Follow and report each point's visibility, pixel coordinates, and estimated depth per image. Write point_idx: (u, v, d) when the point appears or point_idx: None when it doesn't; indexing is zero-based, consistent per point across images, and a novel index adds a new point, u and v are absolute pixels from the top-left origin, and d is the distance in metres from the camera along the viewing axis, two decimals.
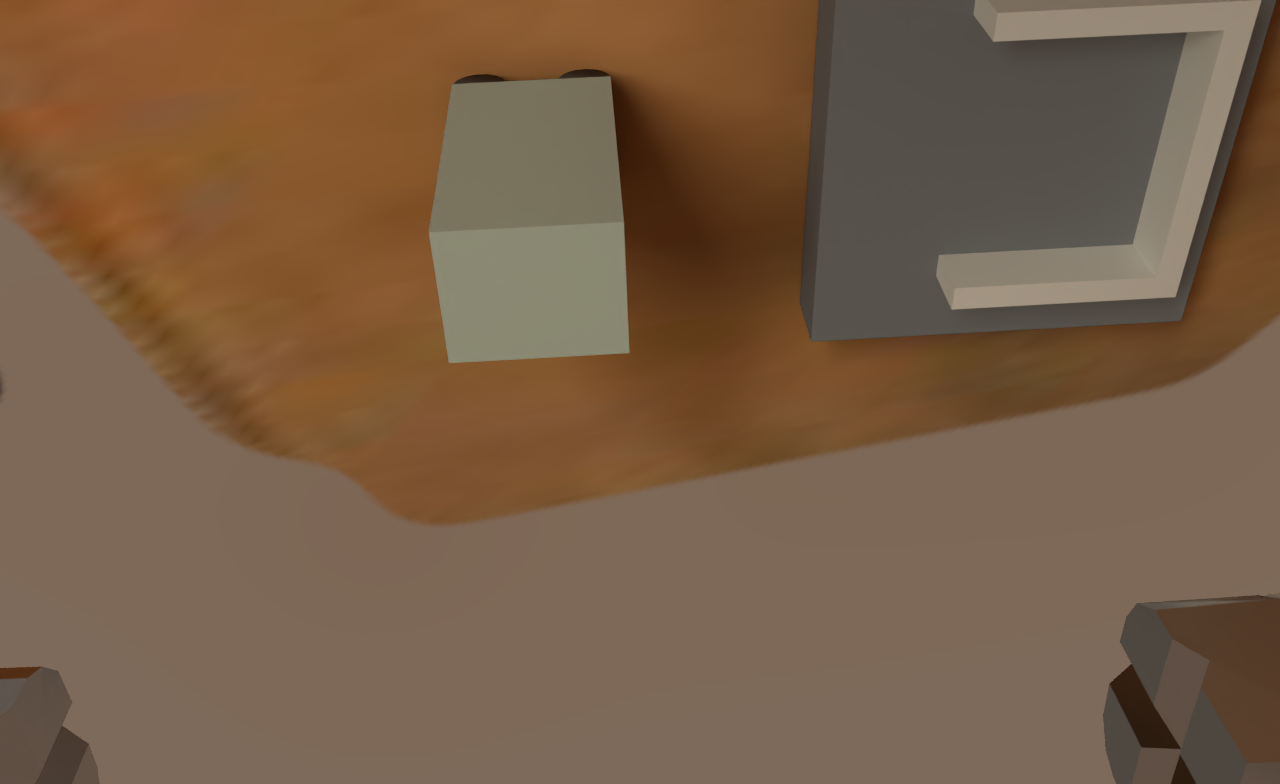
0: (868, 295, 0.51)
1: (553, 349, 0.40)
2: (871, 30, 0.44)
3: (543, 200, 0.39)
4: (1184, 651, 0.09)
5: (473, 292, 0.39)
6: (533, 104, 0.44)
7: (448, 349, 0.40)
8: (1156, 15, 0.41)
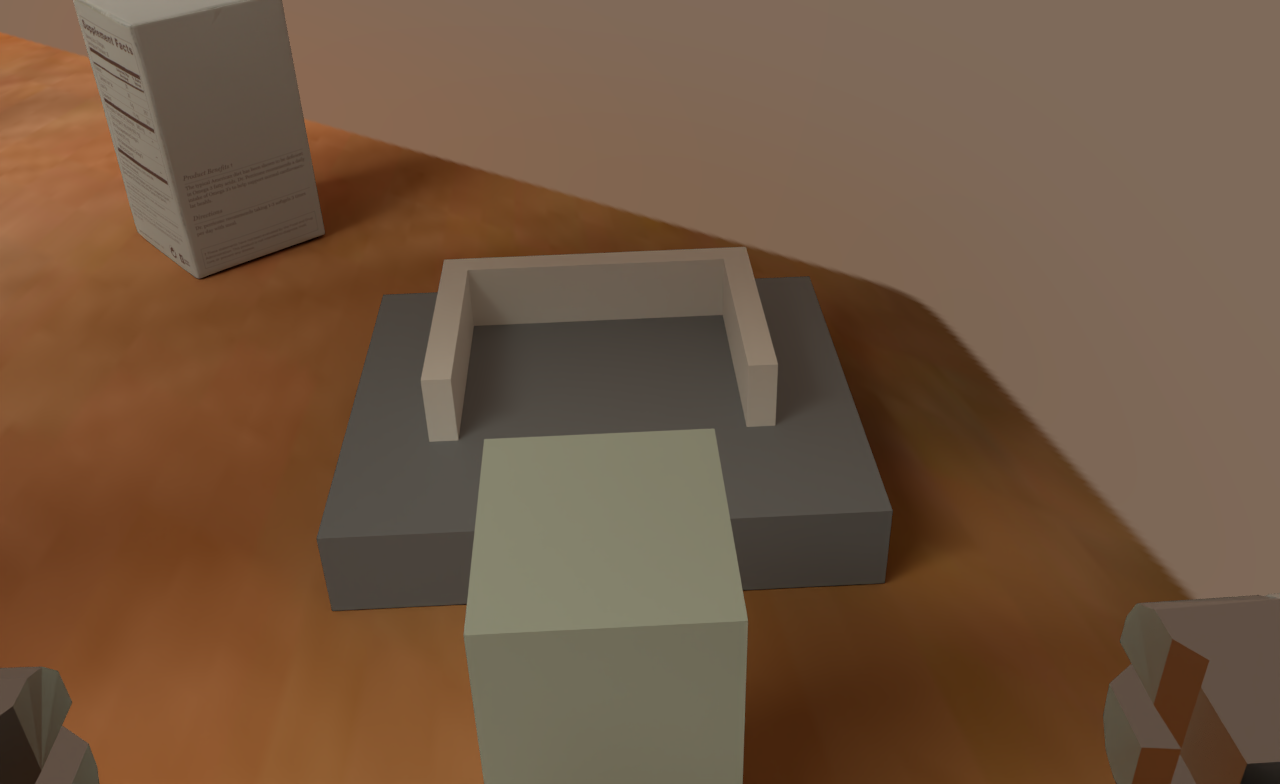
0: (811, 471, 0.40)
1: (710, 499, 0.24)
2: (461, 504, 0.39)
3: None
4: (1184, 651, 0.09)
5: (593, 586, 0.22)
6: None
7: (716, 620, 0.22)
8: (445, 301, 0.45)
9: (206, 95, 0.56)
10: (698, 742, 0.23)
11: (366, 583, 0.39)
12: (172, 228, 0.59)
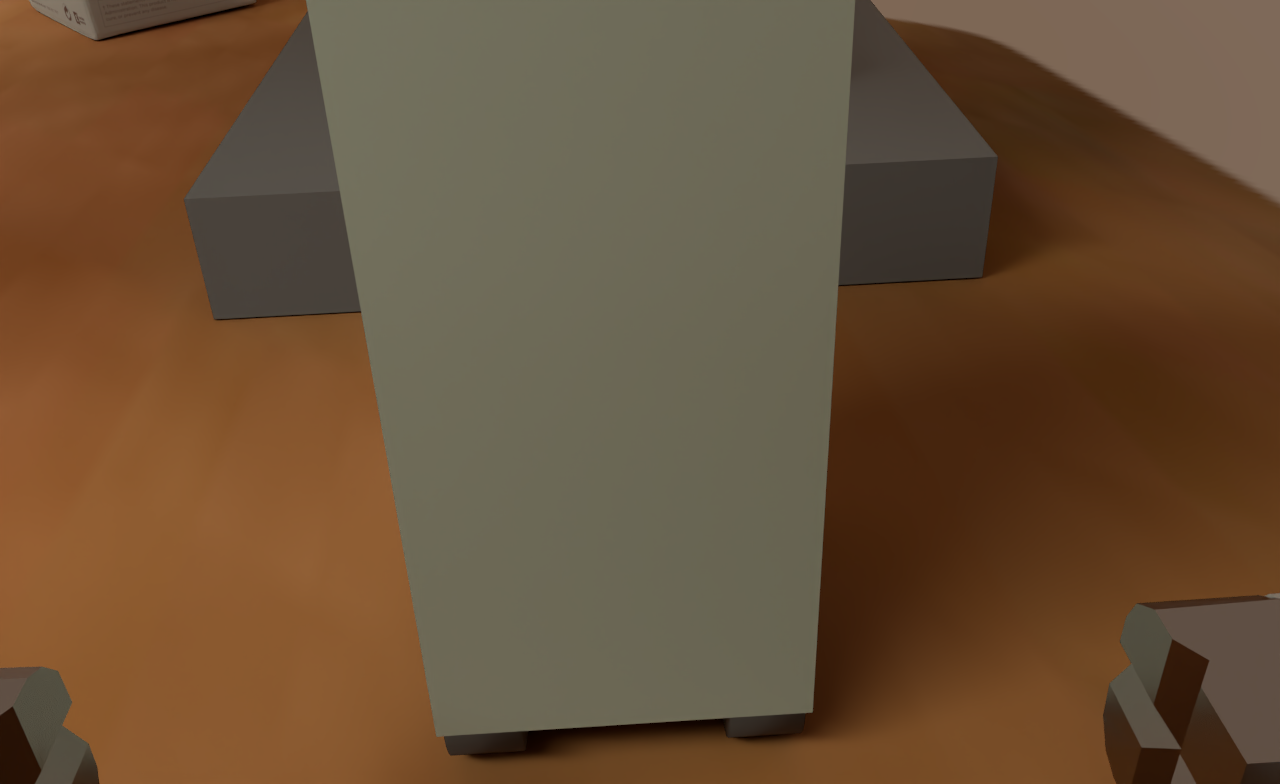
0: (878, 126, 0.29)
1: None
2: None
3: None
4: (1184, 651, 0.09)
5: None
6: None
7: None
8: None
9: None
10: (758, 147, 0.12)
11: (259, 274, 0.28)
12: None
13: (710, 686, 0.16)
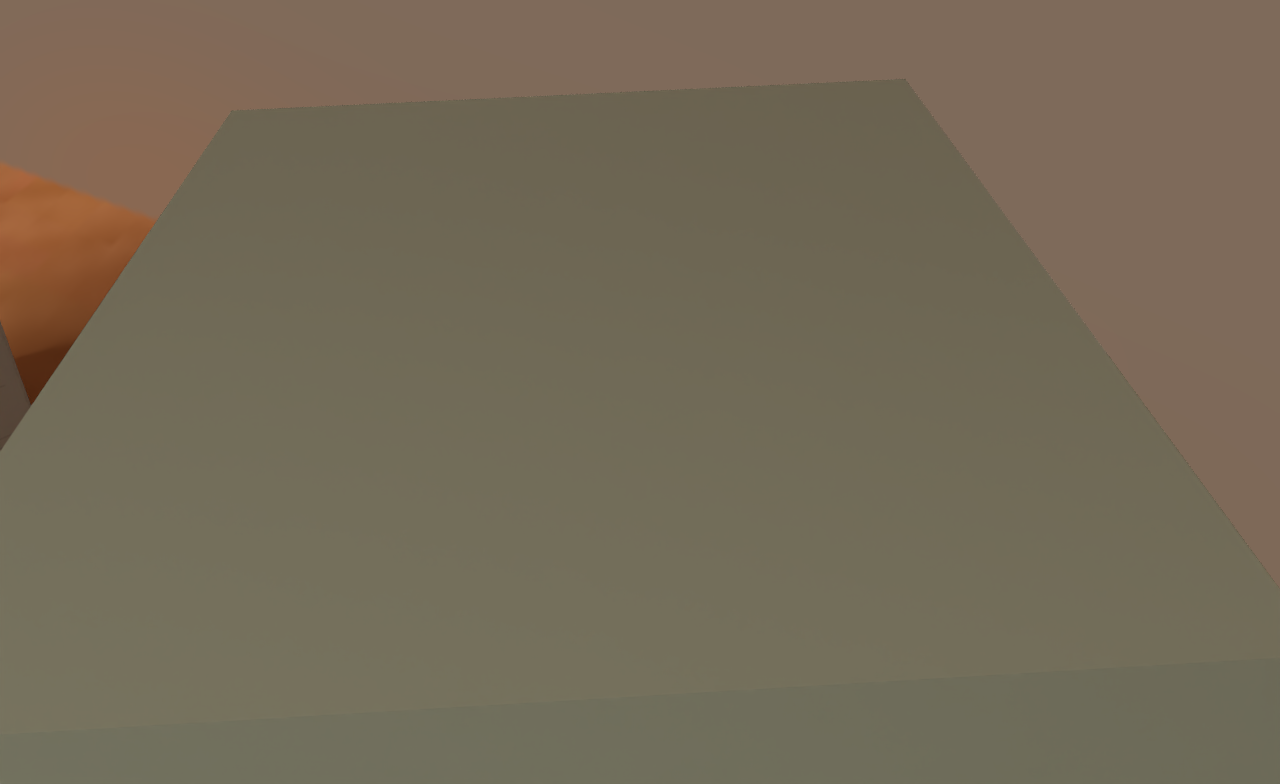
0: None
1: (952, 219, 0.07)
2: None
3: None
4: None
5: (520, 501, 0.05)
6: None
7: (1157, 653, 0.04)
8: None
9: None
10: None
11: None
12: None
13: None
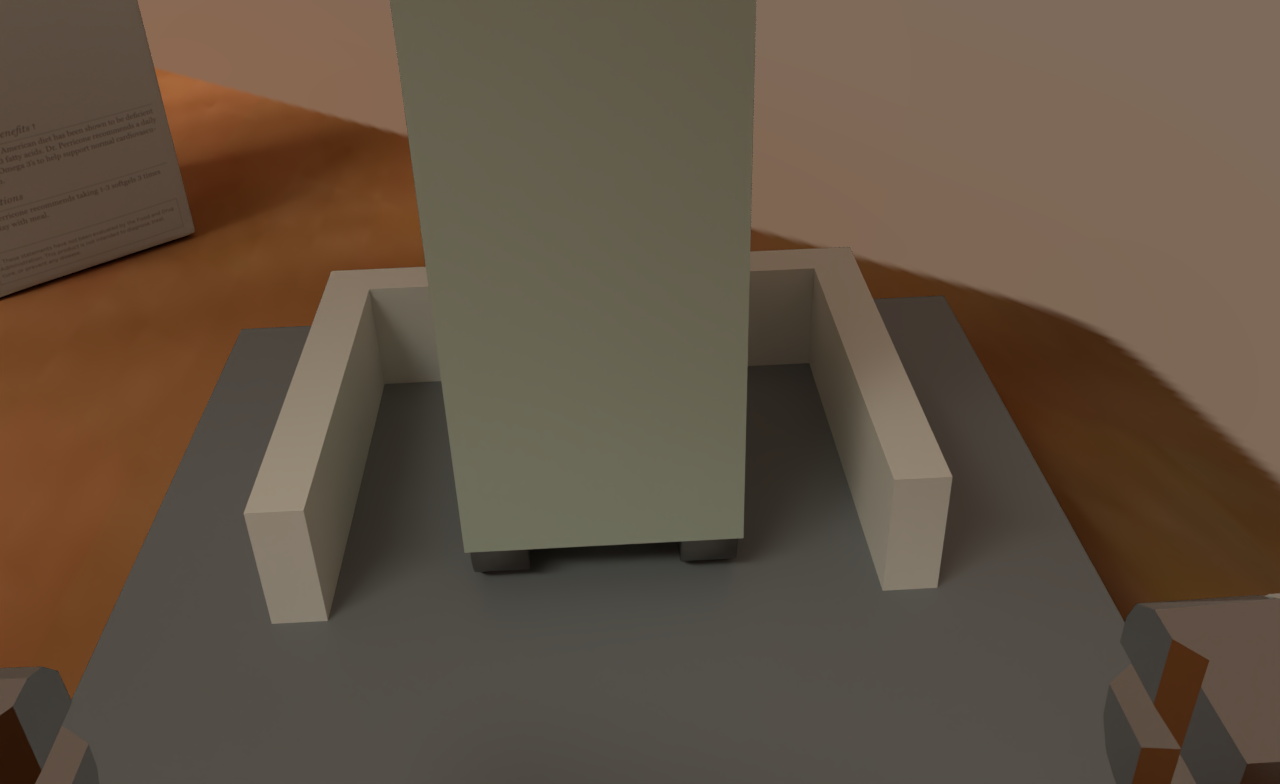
0: (1029, 697, 0.20)
1: None
2: (313, 782, 0.19)
3: None
4: (1184, 651, 0.09)
5: None
6: None
7: None
8: (320, 347, 0.25)
9: None
10: (692, 112, 0.18)
11: None
12: None
13: (667, 514, 0.22)
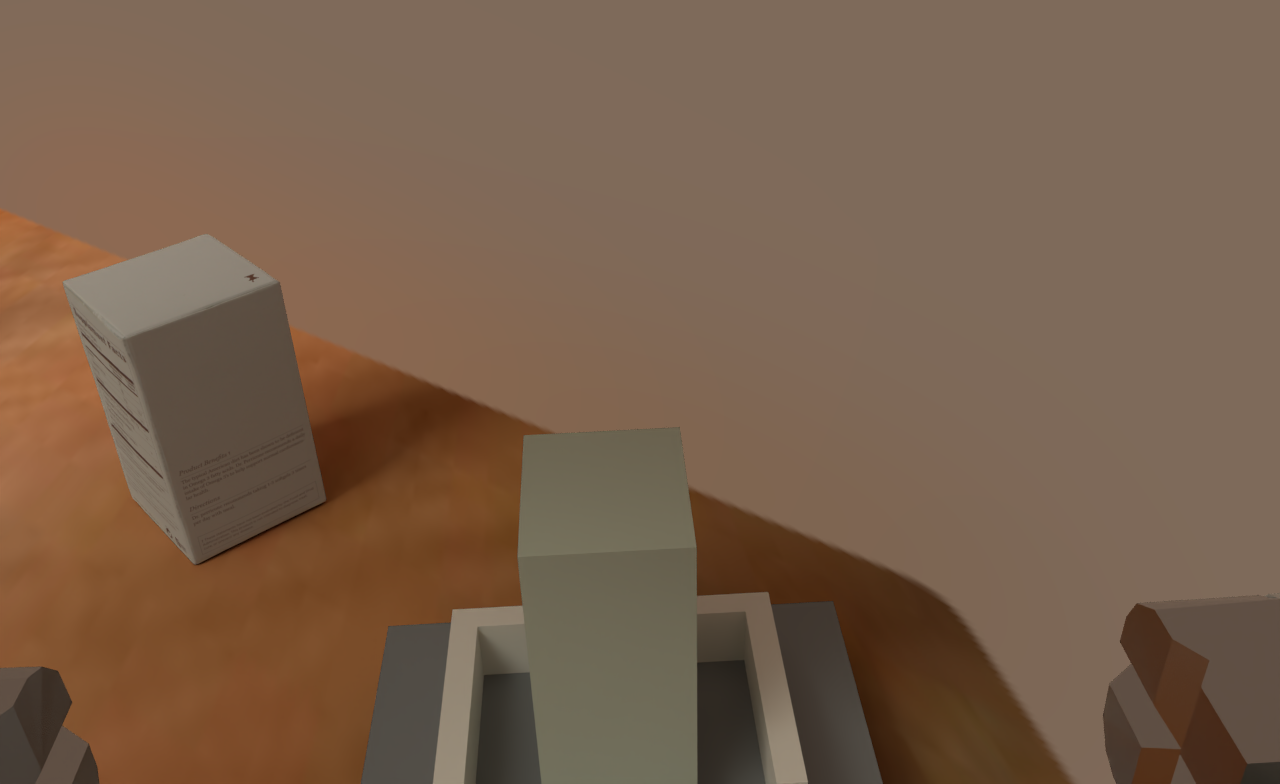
0: None
1: (675, 473, 0.37)
2: None
3: None
4: (1184, 651, 0.09)
5: (598, 528, 0.35)
6: None
7: (676, 547, 0.34)
8: (454, 677, 0.43)
9: (203, 391, 0.54)
10: (666, 629, 0.36)
11: None
12: (168, 514, 0.57)
13: None
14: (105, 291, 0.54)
